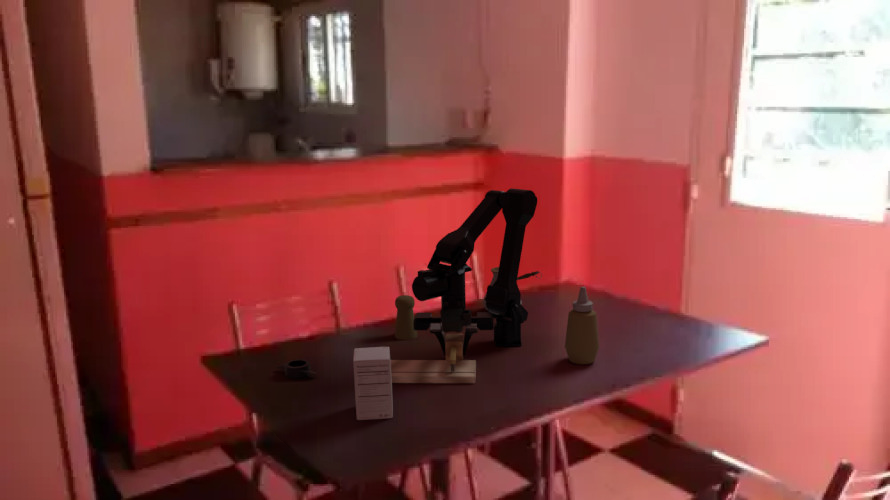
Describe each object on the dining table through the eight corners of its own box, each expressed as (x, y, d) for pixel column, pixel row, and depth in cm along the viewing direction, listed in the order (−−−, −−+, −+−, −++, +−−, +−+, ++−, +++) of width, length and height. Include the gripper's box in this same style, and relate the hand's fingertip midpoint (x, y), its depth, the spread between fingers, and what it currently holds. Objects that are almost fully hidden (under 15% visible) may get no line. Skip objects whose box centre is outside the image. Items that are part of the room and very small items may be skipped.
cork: (418, 332, 195) (417, 293, 192) (415, 340, 189) (414, 299, 186) (396, 332, 195) (395, 293, 193) (392, 339, 189) (391, 299, 187)
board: (475, 366, 169) (475, 359, 169) (475, 383, 160) (475, 376, 159) (382, 366, 171) (382, 359, 170) (376, 382, 161) (375, 375, 161)
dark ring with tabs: (286, 385, 161) (286, 373, 160) (276, 371, 170) (275, 359, 169) (320, 379, 164) (319, 367, 164) (308, 365, 173) (307, 354, 173)
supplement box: (356, 405, 150) (353, 347, 147) (392, 403, 150) (390, 345, 147) (355, 421, 142) (352, 360, 140) (393, 418, 143) (390, 358, 140)
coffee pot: (474, 311, 213) (473, 261, 210) (504, 304, 219) (503, 255, 216) (524, 328, 196) (524, 275, 193) (554, 320, 203) (554, 268, 200)
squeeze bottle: (602, 357, 173) (604, 284, 170) (594, 368, 166) (596, 293, 163) (569, 353, 177) (570, 281, 173) (560, 364, 170) (561, 290, 166)
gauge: (463, 357, 176) (462, 333, 174) (461, 380, 161) (461, 355, 160) (446, 357, 176) (446, 333, 175) (443, 380, 161) (443, 355, 160)
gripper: (409, 302, 162) (412, 368, 165) (493, 301, 161) (494, 368, 164) (414, 289, 173) (416, 351, 176) (493, 288, 172) (493, 351, 175)
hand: (454, 355), depth 172 cm, fingers closed on gauge, 4 cm apart
